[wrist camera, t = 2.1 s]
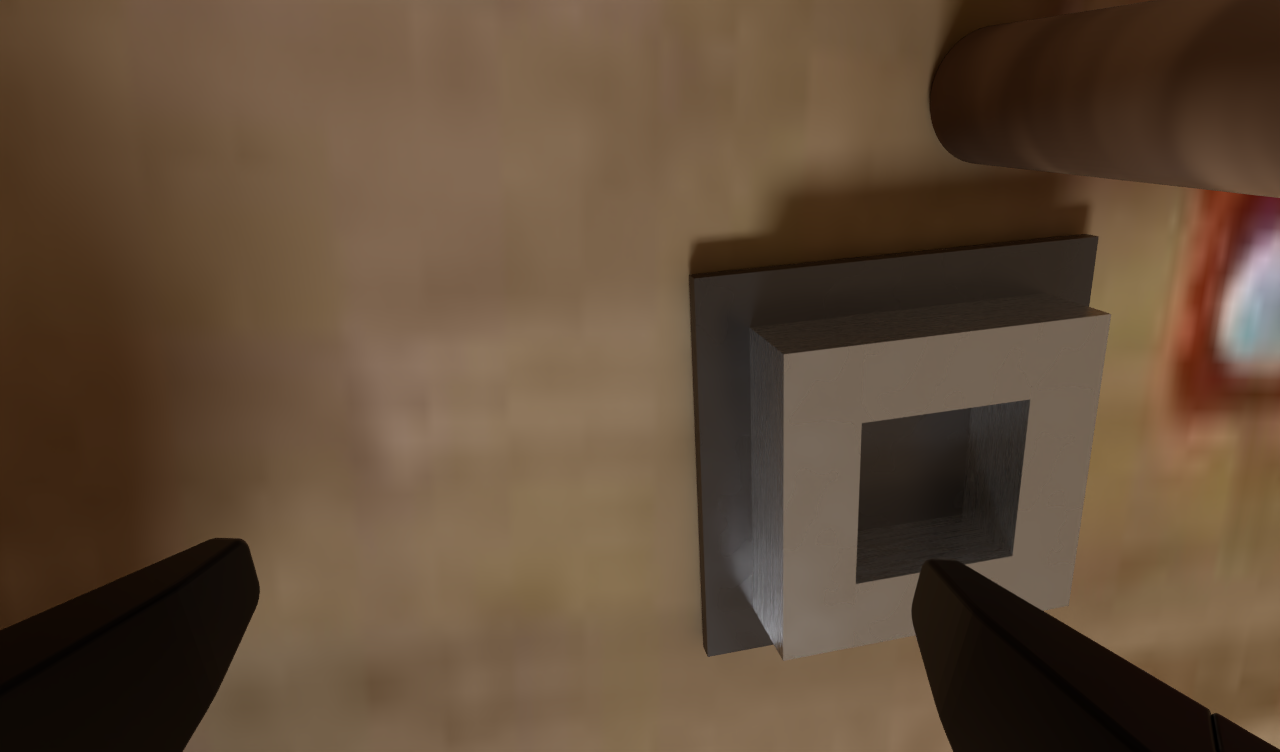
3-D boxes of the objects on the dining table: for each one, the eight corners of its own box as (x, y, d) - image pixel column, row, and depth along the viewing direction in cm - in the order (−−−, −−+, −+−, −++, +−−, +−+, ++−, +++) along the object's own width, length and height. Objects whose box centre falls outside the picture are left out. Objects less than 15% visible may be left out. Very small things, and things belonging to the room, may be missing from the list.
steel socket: (1040, 583, 27) (1105, 638, 24) (703, 646, 25) (732, 714, 22) (1085, 233, 23) (1170, 251, 20) (688, 274, 21) (722, 300, 18)
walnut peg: (1040, 159, 22) (2218, 266, 7) (926, 168, 21) (1952, 307, 7) (1055, 22, 21) (2498, -187, 6) (934, 28, 20) (2206, -186, 5)
